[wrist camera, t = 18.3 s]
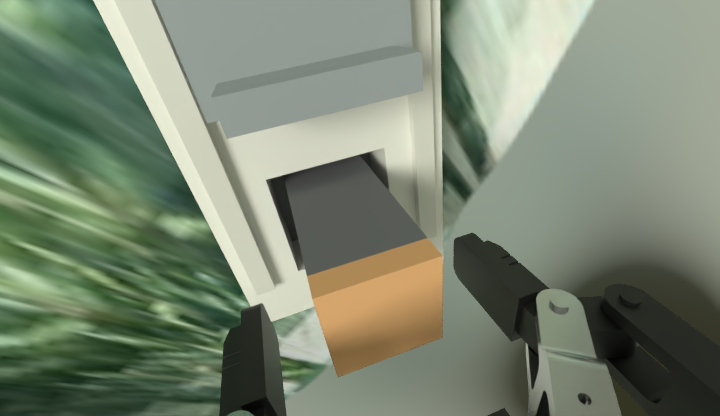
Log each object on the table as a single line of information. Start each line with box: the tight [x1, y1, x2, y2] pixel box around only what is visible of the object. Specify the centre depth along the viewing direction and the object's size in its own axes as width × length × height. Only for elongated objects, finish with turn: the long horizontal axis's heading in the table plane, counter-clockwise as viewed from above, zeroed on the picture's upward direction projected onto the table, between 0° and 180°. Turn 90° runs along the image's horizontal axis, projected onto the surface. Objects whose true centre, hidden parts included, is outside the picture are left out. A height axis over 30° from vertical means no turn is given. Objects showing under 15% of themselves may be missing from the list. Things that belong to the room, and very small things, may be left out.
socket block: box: [93, 0, 444, 322], centre depth 16 cm, size 12×18×4 cm, turn 9°
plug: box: [283, 155, 443, 377], centre depth 15 cm, size 4×4×10 cm
